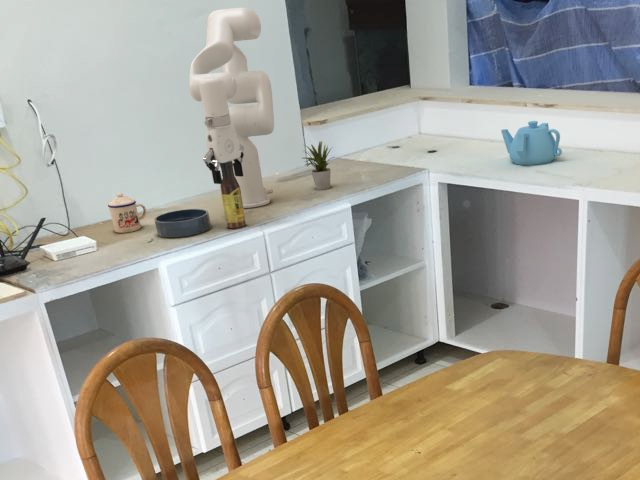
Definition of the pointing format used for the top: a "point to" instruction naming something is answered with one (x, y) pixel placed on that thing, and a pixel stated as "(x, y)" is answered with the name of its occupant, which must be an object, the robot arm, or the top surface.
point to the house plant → (319, 167)
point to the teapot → (532, 144)
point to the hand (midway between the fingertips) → (228, 179)
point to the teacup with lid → (125, 214)
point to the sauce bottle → (231, 197)
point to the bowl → (182, 223)
